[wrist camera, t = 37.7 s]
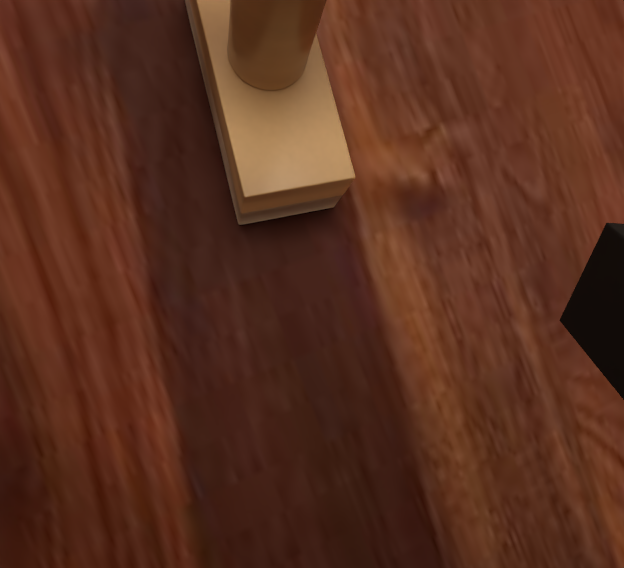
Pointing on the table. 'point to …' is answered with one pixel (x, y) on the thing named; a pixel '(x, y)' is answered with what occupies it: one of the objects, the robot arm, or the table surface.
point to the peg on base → (271, 105)
